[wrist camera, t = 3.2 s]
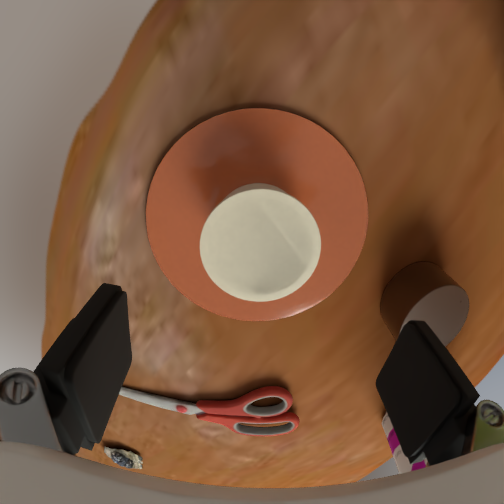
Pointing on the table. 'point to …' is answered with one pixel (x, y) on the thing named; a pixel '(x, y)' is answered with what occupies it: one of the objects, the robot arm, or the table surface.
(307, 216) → the cylinder
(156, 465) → the table surface
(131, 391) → the scissors
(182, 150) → the plate
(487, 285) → the table surface
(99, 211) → the table surface
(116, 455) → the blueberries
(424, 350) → the robot arm
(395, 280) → the cylinder
